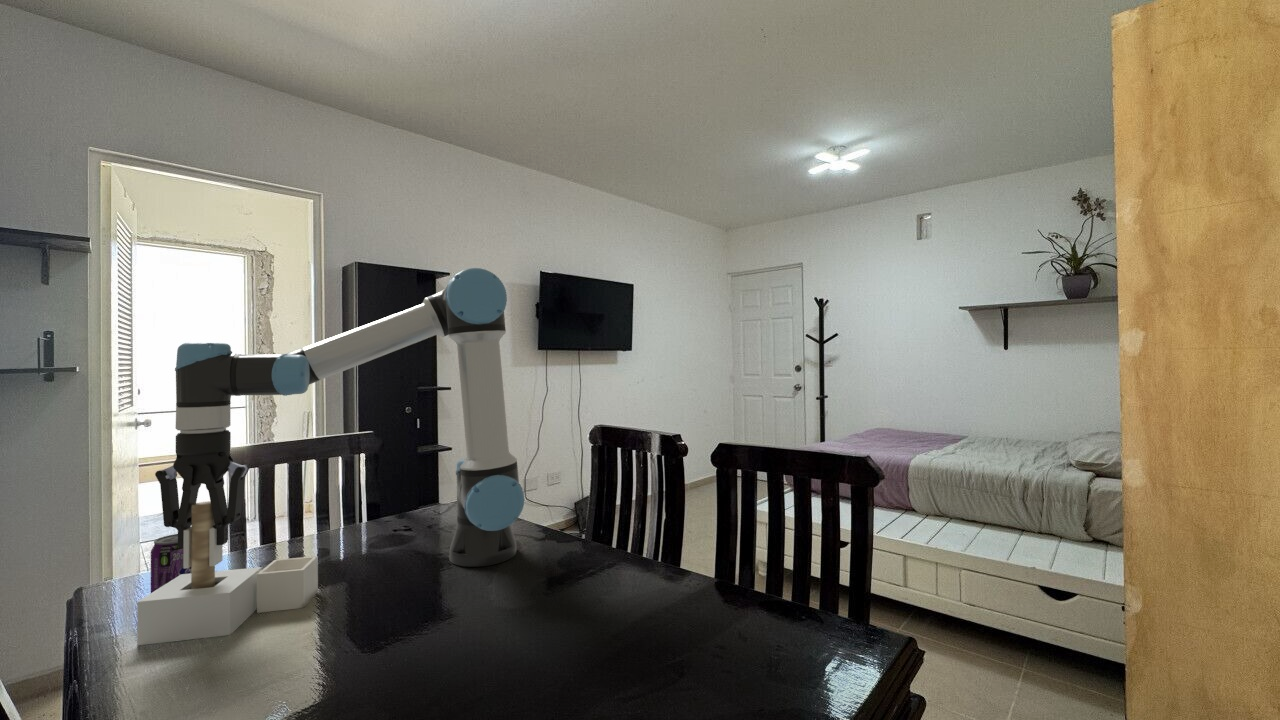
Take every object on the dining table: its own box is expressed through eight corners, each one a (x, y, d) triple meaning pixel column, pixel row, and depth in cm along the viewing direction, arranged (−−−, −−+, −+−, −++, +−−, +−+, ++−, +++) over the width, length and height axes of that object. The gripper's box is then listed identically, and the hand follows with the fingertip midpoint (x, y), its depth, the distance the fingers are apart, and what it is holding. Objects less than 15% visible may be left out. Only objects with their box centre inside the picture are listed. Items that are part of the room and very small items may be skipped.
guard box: (262, 604, 102) (261, 567, 102) (230, 634, 90) (229, 592, 90) (181, 612, 99) (181, 574, 99) (137, 645, 87) (137, 601, 87)
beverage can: (170, 609, 100) (170, 544, 100) (140, 606, 102) (140, 542, 102) (208, 593, 107) (208, 532, 107) (179, 591, 109) (179, 531, 109)
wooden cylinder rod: (218, 601, 96) (218, 500, 96) (208, 609, 93) (209, 505, 93) (197, 603, 95) (197, 502, 96) (187, 611, 92) (187, 506, 93)
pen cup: (317, 591, 107) (317, 556, 107) (303, 607, 100) (303, 569, 100) (274, 595, 106) (274, 559, 106) (257, 612, 98) (256, 574, 98)
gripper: (265, 426, 100) (265, 553, 100) (162, 429, 97) (162, 561, 96) (246, 431, 93) (246, 567, 93) (134, 434, 89) (133, 577, 89)
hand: (203, 564), depth 94 cm, fingers closed on wooden cylinder rod, 3 cm apart
